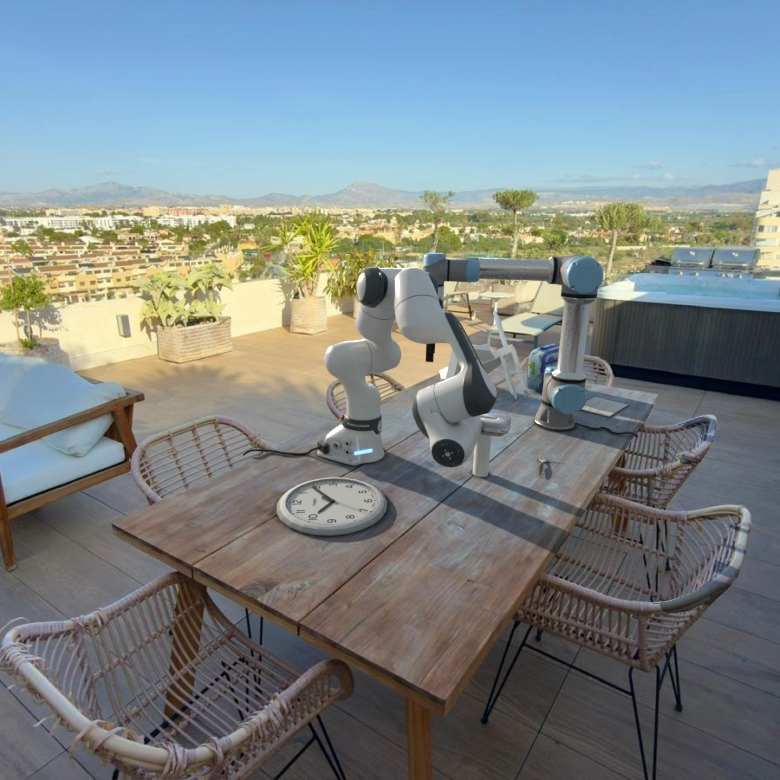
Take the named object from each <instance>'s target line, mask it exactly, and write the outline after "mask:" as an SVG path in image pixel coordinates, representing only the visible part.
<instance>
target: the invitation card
mask: <svg viewBox="0 0 780 780" xmlns="http://www.w3.org/2000/svg"><path fill="white" fill-rule="evenodd" d="M628 406H629V404H627V403H623V402H618V401H614V400H609V399H605V398H601V397H596V396H593V397H592V398H590V399H587V401H586V404H585V406H584V407H583V408H582V409H581V410H580V411H584V412H587V413H593V414H596V415H600V416H604V417H608V418H609V417H611V416H613V415H614V414H616V413H617V412H619V411H621V410H623V409H624V408H626V407H628Z"/></svg>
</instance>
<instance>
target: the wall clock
mask: <svg viewBox="0 0 780 780" xmlns="http://www.w3.org/2000/svg"><path fill="white" fill-rule="evenodd" d="M387 509H388V500H387V498H386V496H385V494H384V493H383V492H382V491H381V490H380V489H379V488H377V487H376V486H374V485H372V484H371V483H369V482H365V481H362V480H359V479H355V478H349V477H338V476H337V477H335V476H333V477H332V476H331V477H322V478H317V479H312V480H307V481H305V482H302V483H299V484H297V485H295V486H293V487H292V488H290V489H288V490H287V491H286V492H285V493H284V494H283V495H281V496H280V498H279V499H278V502H277V503H276V515H277V517H278V518H279V520H280V521H281V522H282V523H283V524H285V525H286V526H287V527H288V528H290V529H293V530H295V531H297V532H299V533H303V534H308V535H312V536H327V537H328V536H329V537H331V536H332V537H333V536H342V535H350V534H352V533H356V532H361V531H363V530H366V529H368V528H369V527H372V526H373V525H375V524H376V523H378V522H379V521H380V520H381V519H382V518H383V517H384V516H385V514H386V512H387Z"/></svg>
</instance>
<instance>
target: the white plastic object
mask: <svg viewBox="0 0 780 780" xmlns="http://www.w3.org/2000/svg"><path fill="white" fill-rule="evenodd" d="M492 315H493V319H494V321H495V324H496V325H495V326H496V328H497V332H498V335H499V338H500V342H501V345H502V347H500V348H498V349H496V350H495V349H493V348H492V347H491V346H490V344H489V343H488V342H487V343H483V344H479V345H473V347H474V349H475V351H476V353H477V355H478V357H479V359H480V361H481V363H482V365H483V367H484V369H485V371H486V373H487V374H488V375H489V374H490V373H492V372H494V371H495V370H496V369H497V368H499V367H500V366H502V370H503V373H504V376H505V380H506V383H507V386H508V390H509V393H510V394H511V395H512V397H513V398H514V399H515V400H517V392H516V391H517V390H516V388H515V385H514V381H513V378H512V375H511V371H510V369H509V365H508V361H510V360H513V363H514V366H515V369H516V372H517V376H518V380H519V382H520V385H521V389H522V391H523V393H524V395H525V396H526V397H528V396H531V395H530V389H528V387H527V380H526V378H525V375H524V371H523V369H522V368H523V367H522V366H521V362H520V359H519V355H518V352H517V349H516V347H515V346H514V345H513V343H511V344H508V341H507V337H506V334H505V331H504V328H503V325H502V321H501V318H500V315H499V314H498V312H497V311H496V310H495V311H492ZM460 371H461V366H460V364H459V362H458V360H457V358H456V356H455V353H454V351H453V349H452V348H451V353H450V357H449V362H448V366H446V367H444V368H442V369H440V370H439V371H438V372H439V376H440V381H444V380H446V379H448V378H451V377H453V376H455V375H457V374H458V373H459V372H460Z"/></svg>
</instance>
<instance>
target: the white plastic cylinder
mask: <svg viewBox="0 0 780 780" xmlns="http://www.w3.org/2000/svg"><path fill="white" fill-rule="evenodd" d="M491 442H492V436H489V435H482V434H481V436H480V438H479V440H478V442H477V444H476V445H475V448H474V450H473V462H472V463H473V464H472V475H474V476H475V477H478V478H486V477H488V476H489V470H490V469H489V468H490V457H491V456H490V455H491V446H492V445H491V444H492V443H491Z"/></svg>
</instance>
